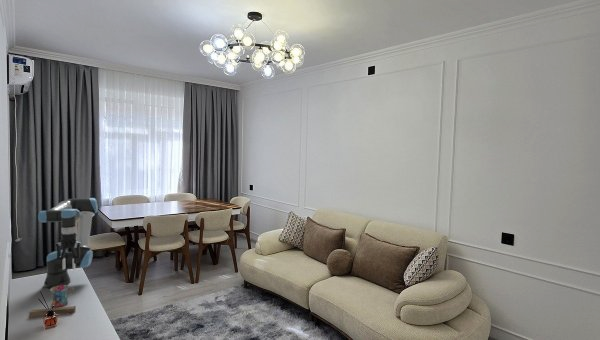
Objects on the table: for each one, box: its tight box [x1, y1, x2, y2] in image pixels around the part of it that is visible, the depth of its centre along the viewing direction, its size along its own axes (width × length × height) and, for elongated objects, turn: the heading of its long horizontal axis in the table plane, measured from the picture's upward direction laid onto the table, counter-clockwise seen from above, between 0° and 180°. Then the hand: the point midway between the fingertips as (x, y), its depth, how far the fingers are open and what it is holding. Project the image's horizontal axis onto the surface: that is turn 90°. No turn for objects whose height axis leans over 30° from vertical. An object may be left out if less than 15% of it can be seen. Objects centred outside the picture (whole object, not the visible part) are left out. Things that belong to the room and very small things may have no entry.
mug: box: [49, 284, 75, 308], centre depth 203 cm, size 12×9×11 cm
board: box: [28, 305, 77, 318], centre depth 191 cm, size 3×22×3 cm, turn 106°
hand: (69, 268), depth 213 cm, fingers open, 5 cm apart
